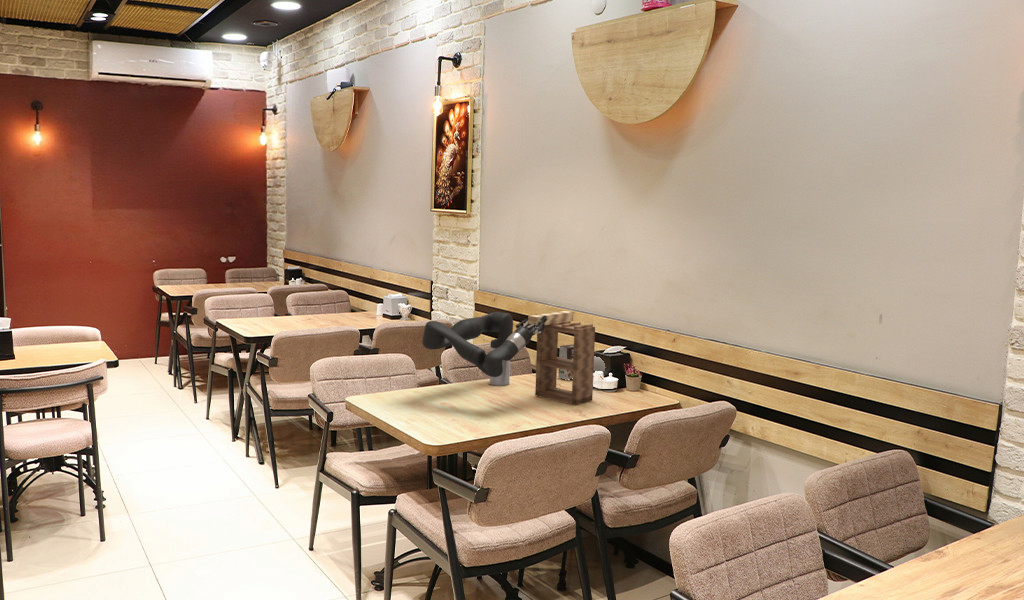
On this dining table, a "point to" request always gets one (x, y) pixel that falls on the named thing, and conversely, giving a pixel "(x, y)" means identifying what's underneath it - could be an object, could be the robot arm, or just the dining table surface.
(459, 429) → the dining table surface
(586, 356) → the walnut shelf
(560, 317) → the beech bar
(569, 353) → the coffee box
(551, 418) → the dining table surface
